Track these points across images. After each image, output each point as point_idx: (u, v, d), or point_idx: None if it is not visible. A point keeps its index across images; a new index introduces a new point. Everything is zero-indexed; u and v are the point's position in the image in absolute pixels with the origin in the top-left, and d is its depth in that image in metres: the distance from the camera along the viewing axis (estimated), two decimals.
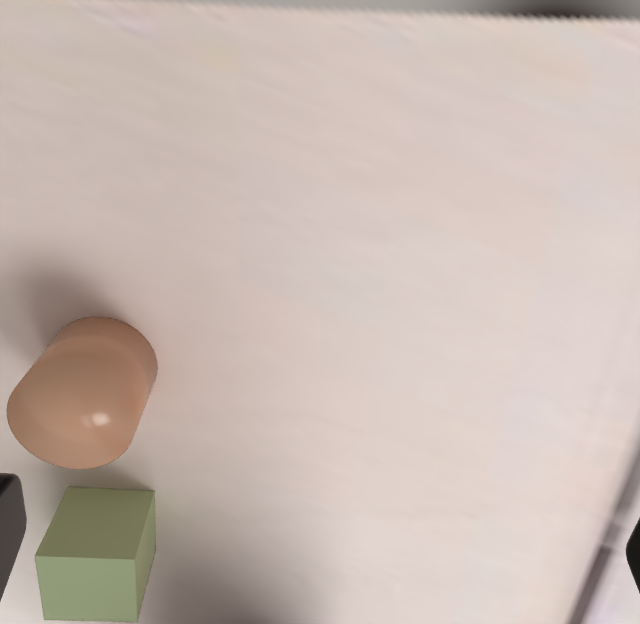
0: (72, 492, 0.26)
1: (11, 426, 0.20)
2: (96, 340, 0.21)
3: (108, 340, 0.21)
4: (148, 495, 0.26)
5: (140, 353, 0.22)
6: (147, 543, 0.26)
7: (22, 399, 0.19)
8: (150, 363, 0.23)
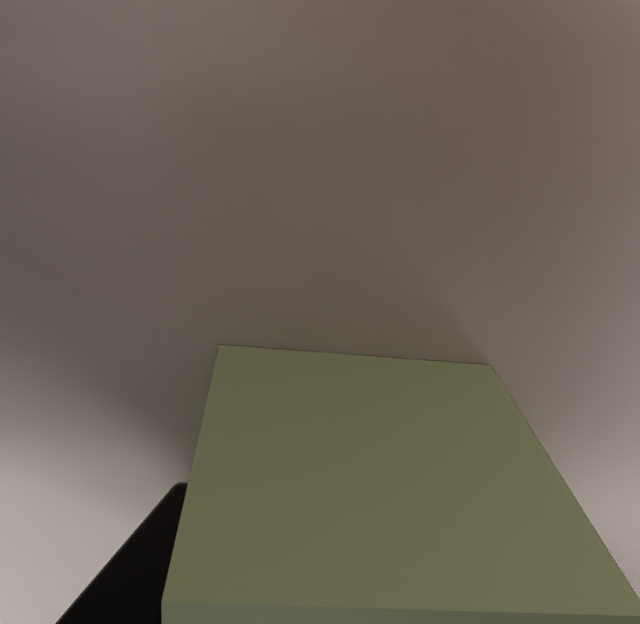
0: (239, 362, 0.07)
1: None
2: None
3: None
4: (485, 378, 0.08)
5: None
6: None
7: None
8: None
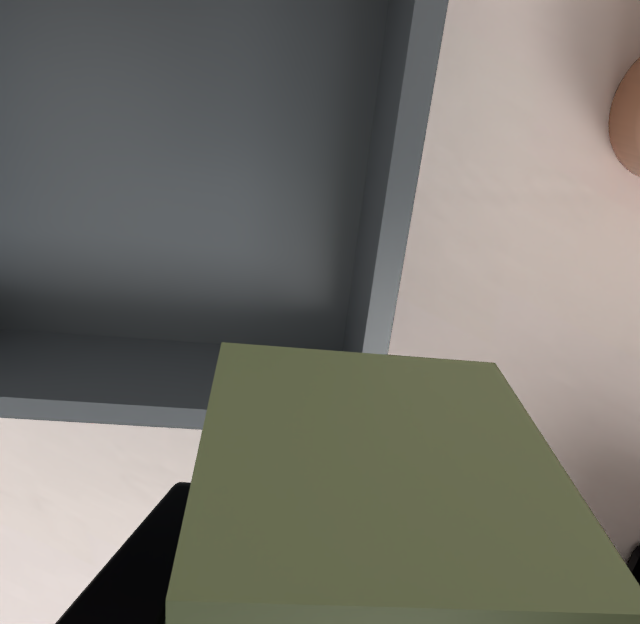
0: (241, 359, 0.07)
1: None
2: None
3: None
4: (489, 376, 0.08)
5: None
6: None
7: None
8: None
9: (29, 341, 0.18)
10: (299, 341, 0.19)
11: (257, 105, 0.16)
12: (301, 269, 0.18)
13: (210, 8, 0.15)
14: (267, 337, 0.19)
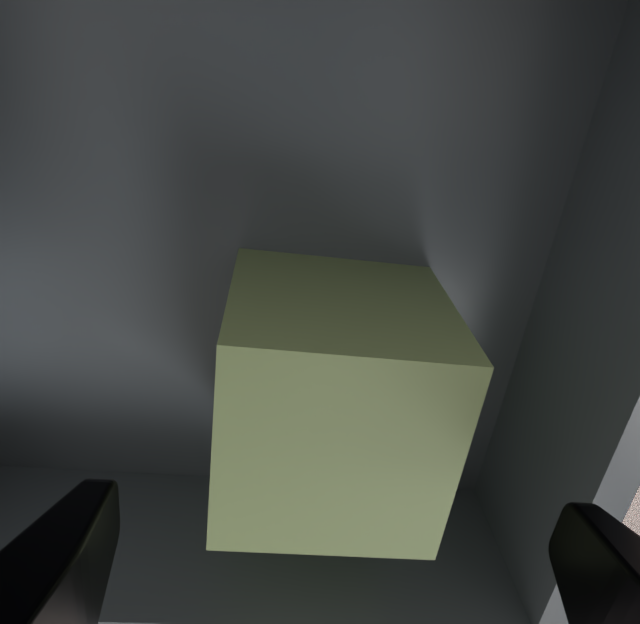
0: (253, 257, 0.11)
1: None
2: None
3: None
4: (423, 273, 0.11)
5: None
6: None
7: None
8: None
9: (52, 490, 0.13)
10: None
11: (403, 173, 0.11)
12: None
13: (349, 30, 0.10)
14: None
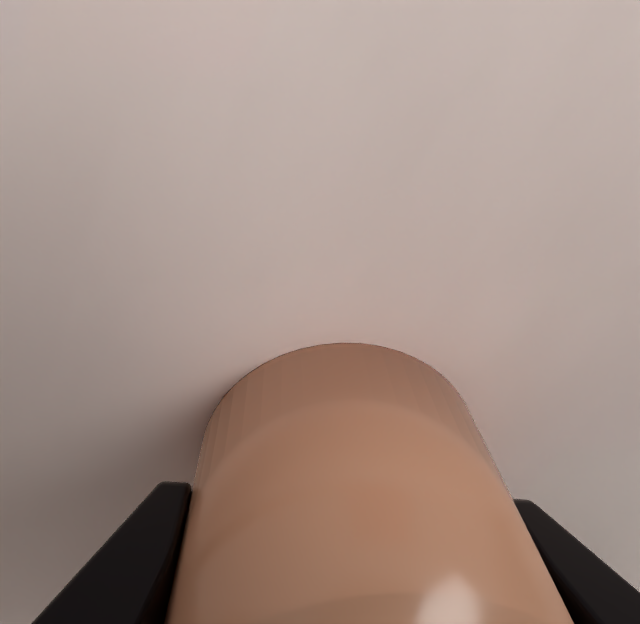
0: None
1: None
2: (183, 534, 0.07)
3: (194, 499, 0.07)
4: None
5: (266, 408, 0.07)
6: None
7: None
8: (316, 378, 0.07)
9: None
10: None
11: None
12: None
13: None
14: None
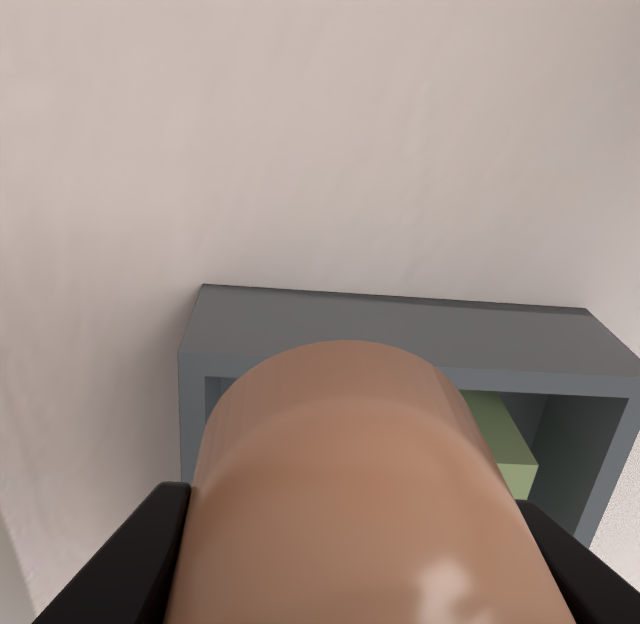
0: None
1: None
2: (182, 531, 0.07)
3: (193, 496, 0.07)
4: None
5: (265, 405, 0.07)
6: None
7: None
8: (316, 375, 0.07)
9: None
10: None
11: None
12: None
13: None
14: (537, 395, 0.20)
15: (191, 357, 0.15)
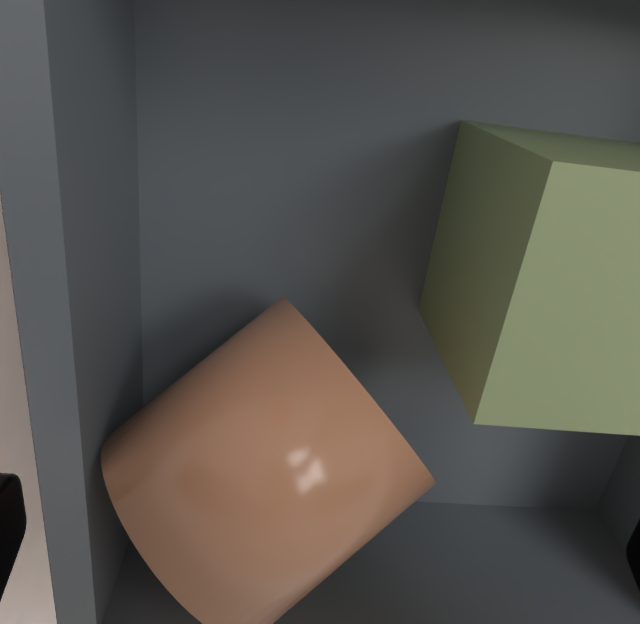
0: (425, 306, 0.12)
1: None
2: None
3: None
4: (464, 135, 0.10)
5: (239, 346, 0.09)
6: (589, 146, 0.09)
7: None
8: (267, 355, 0.09)
9: (631, 484, 0.14)
10: None
11: (355, 159, 0.11)
12: (626, 96, 0.10)
13: (229, 216, 0.11)
14: None
15: None
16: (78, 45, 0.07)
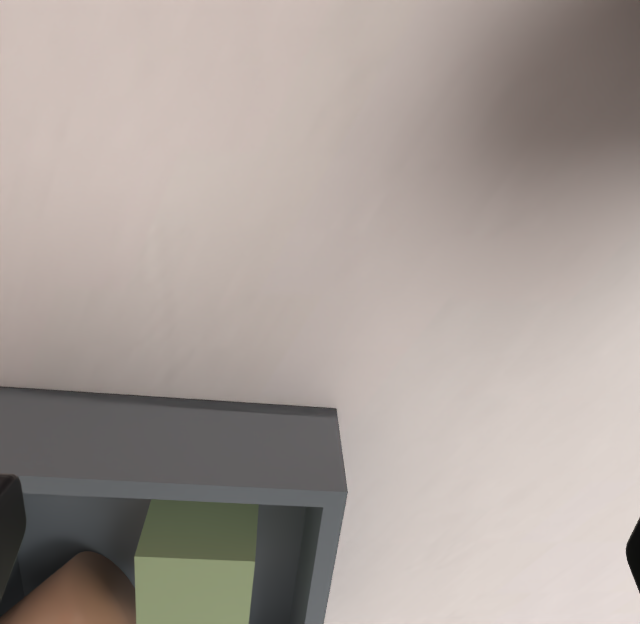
0: None
1: None
2: None
3: None
4: None
5: (45, 591, 0.21)
6: (195, 507, 0.21)
7: None
8: (51, 602, 0.20)
9: (292, 623, 0.25)
10: None
11: None
12: None
13: (54, 510, 0.23)
14: None
15: None
16: None
